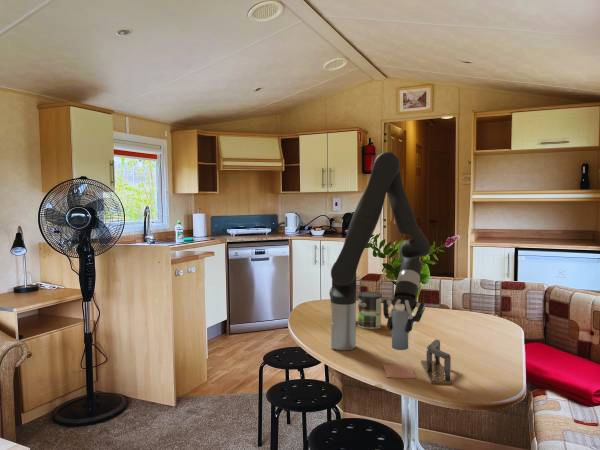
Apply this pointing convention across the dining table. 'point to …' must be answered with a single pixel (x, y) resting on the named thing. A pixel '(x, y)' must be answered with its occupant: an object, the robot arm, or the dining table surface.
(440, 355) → the dark grey frame
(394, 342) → the bottle
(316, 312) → the dining table surface
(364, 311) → the coffee can
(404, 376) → the mat
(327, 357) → the dining table surface
